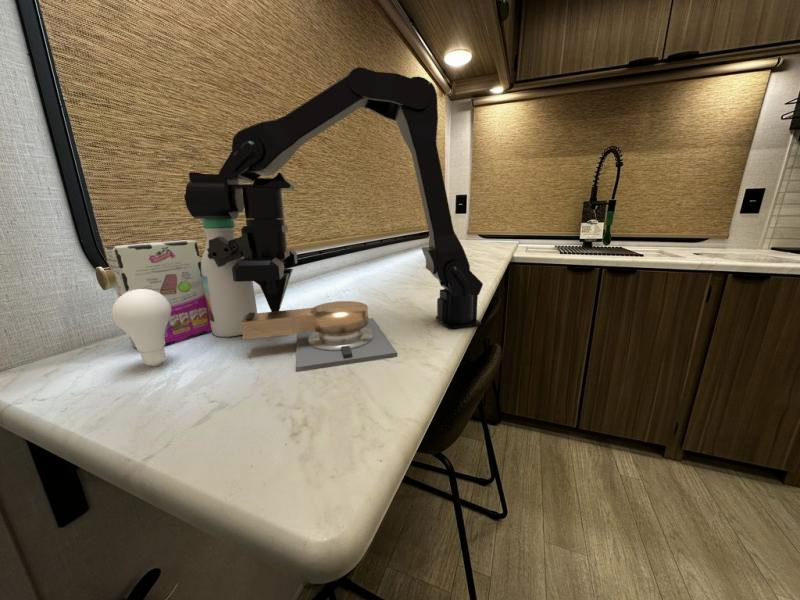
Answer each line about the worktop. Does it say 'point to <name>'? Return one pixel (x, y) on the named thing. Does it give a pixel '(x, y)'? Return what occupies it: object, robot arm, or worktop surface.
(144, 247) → the candy bar box
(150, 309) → the lightbulb
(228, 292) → the milk bottle
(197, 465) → the worktop surface
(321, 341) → the white disc
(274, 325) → the door handle
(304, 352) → the mat
